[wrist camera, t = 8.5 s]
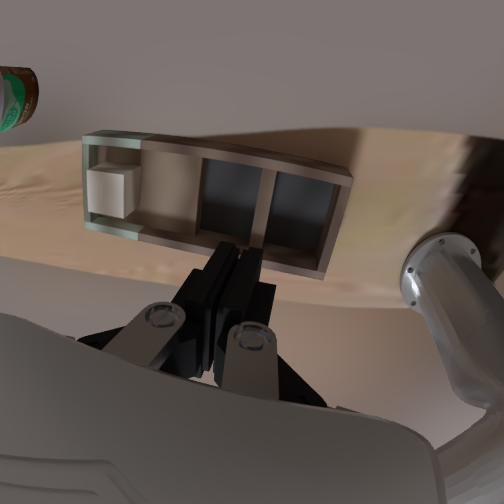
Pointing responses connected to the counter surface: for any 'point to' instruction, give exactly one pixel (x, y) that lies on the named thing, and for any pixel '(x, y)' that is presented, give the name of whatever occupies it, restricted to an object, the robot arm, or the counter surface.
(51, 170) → the counter surface
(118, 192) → the block
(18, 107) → the food container
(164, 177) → the box
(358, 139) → the counter surface
